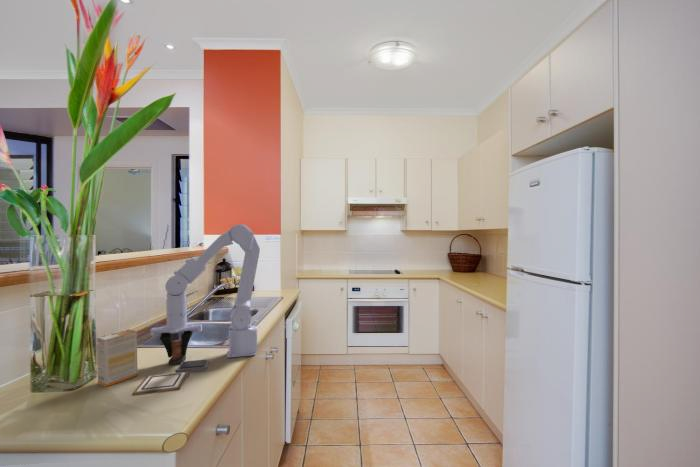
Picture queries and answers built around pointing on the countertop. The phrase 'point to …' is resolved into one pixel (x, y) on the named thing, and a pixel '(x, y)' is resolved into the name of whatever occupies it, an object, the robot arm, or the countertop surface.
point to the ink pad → (193, 366)
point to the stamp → (176, 353)
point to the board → (161, 383)
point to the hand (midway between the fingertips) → (177, 355)
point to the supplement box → (117, 357)
